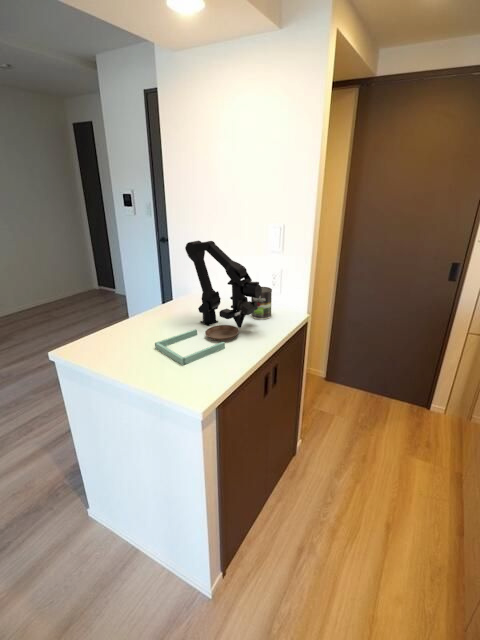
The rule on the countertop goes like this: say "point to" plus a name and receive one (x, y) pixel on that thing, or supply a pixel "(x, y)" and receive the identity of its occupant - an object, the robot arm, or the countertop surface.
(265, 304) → the coffee can
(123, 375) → the countertop surface
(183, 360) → the tray
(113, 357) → the countertop surface
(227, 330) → the saucer
